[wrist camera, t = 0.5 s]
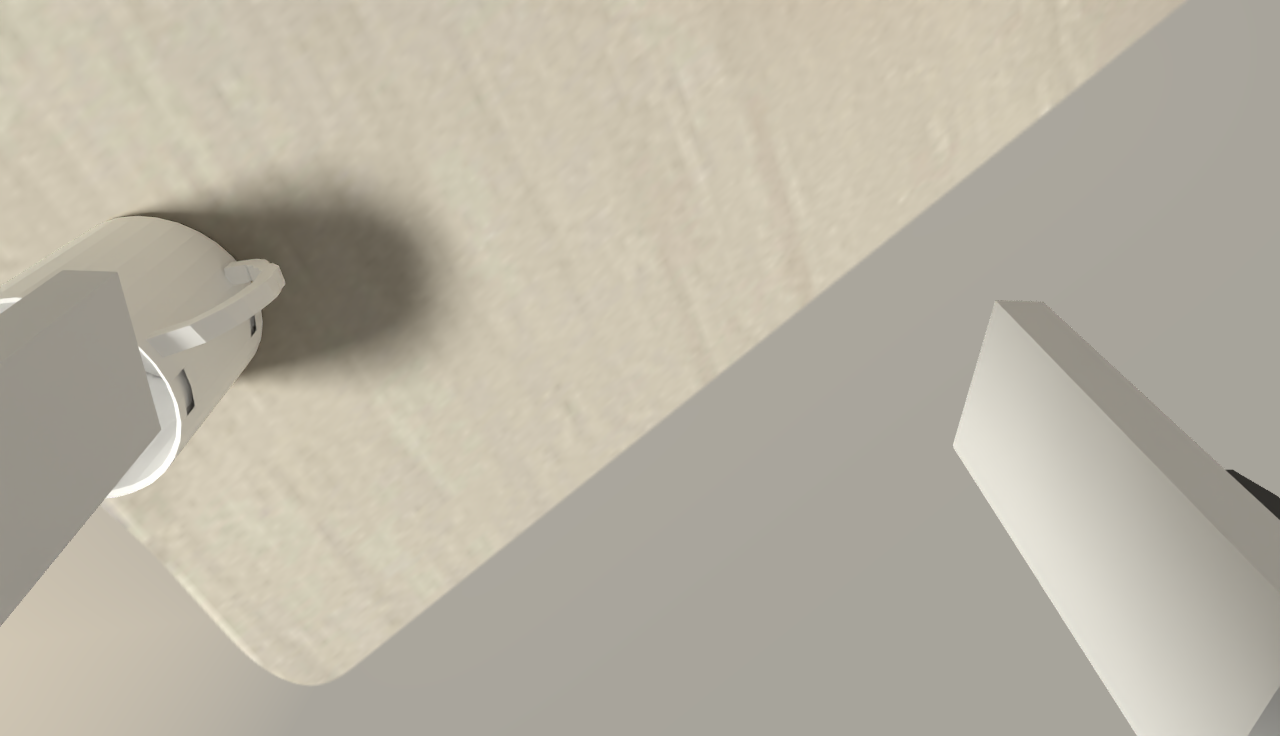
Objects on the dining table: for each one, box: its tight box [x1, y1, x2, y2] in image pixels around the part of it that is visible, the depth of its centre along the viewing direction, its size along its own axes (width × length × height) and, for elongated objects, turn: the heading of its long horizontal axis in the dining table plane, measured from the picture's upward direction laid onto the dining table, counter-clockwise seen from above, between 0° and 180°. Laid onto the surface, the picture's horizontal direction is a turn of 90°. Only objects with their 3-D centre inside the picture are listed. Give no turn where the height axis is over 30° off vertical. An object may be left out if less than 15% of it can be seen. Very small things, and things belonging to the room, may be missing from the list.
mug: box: [0, 216, 285, 498], centre depth 36 cm, size 12×9×9 cm
